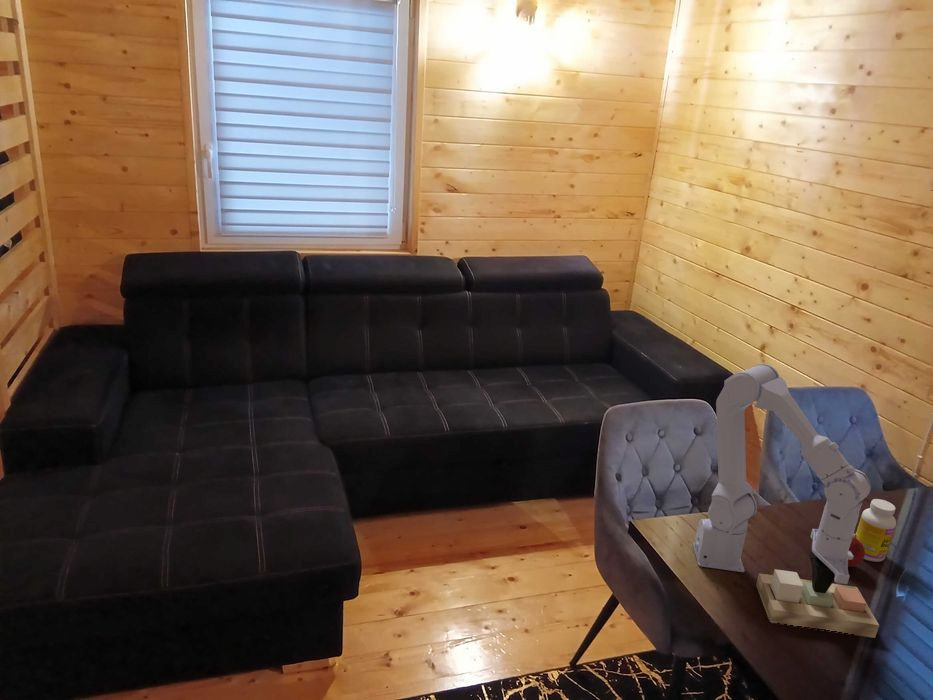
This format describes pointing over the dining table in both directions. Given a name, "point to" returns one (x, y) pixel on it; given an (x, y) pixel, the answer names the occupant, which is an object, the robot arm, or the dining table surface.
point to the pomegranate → (856, 551)
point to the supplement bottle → (876, 529)
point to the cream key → (786, 586)
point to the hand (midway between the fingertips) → (818, 590)
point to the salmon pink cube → (849, 599)
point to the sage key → (816, 596)
